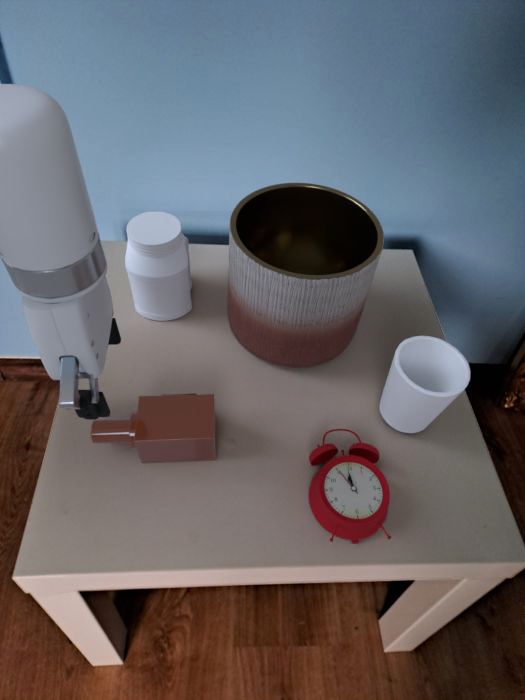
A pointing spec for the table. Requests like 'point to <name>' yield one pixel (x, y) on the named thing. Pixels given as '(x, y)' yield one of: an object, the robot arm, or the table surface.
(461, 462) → the table surface
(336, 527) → the alarm clock
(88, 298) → the robot arm
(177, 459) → the brown handled box
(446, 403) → the cup
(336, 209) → the planter
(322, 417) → the table surface
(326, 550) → the table surface
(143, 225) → the jar
